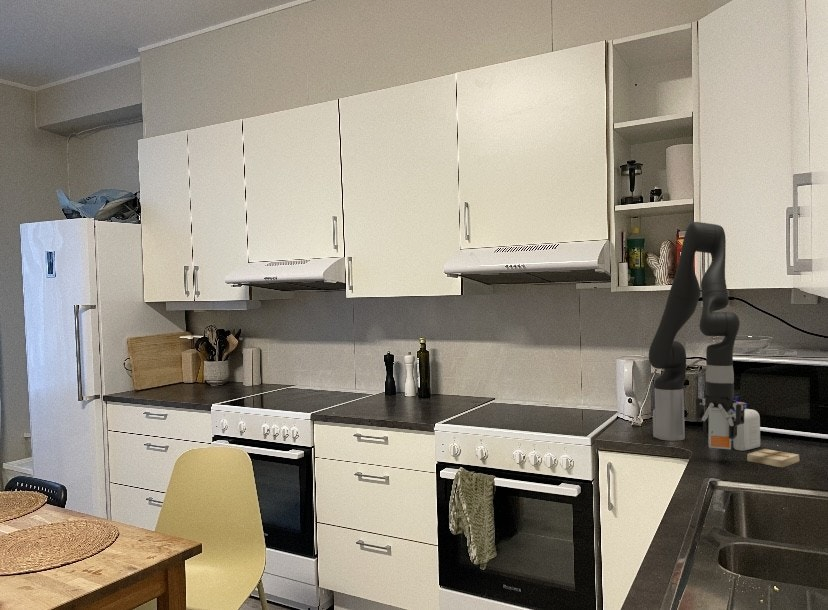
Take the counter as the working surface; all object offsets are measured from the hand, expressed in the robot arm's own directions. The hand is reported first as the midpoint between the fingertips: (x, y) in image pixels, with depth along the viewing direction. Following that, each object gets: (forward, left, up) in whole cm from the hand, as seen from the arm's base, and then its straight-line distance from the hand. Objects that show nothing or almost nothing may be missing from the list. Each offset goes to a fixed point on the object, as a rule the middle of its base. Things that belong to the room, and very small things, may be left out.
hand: (719, 435), depth 193 cm
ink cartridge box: (-13, +30, -8) cm, 34 cm away
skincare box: (0, 0, -4) cm, 4 cm away
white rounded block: (-3, +21, -8) cm, 23 cm away
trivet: (+10, +11, -8) cm, 17 cm away
